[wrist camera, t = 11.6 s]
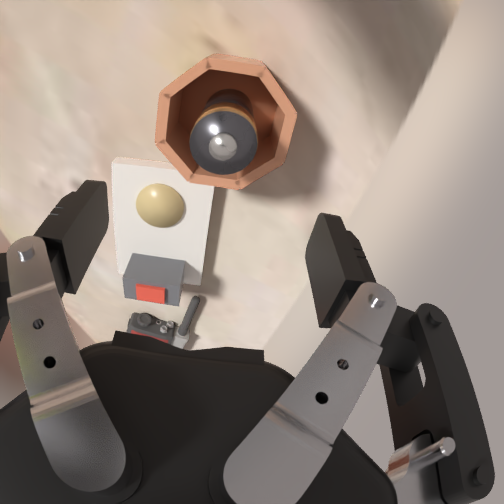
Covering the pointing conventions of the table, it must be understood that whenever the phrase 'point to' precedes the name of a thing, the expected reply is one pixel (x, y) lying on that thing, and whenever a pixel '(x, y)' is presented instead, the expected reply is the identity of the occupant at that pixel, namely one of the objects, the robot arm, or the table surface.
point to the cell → (225, 133)
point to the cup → (194, 100)
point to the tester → (158, 229)
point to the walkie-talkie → (163, 326)
